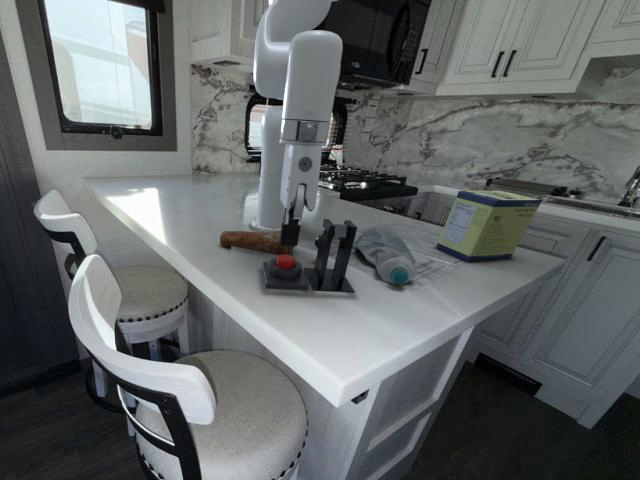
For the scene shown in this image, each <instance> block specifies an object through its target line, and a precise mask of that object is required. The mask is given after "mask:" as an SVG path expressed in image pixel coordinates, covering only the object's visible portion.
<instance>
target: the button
mask: <svg viewBox="0 0 640 480" xmlns="http://www.w3.org/2000/svg"><path fill="white" fill-rule="evenodd" d="M276 258H277V261H276V266H277V267H279V268H283V269H292V268H294V265H295V260H296V257H294V256H293V255H282V254H278V255H277V256H276Z"/></svg>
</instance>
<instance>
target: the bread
mask: <svg viewBox="0 0 640 480" xmlns="http://www.w3.org/2000/svg"><path fill="white" fill-rule="evenodd" d="M280 235H281V232H271V231H268V232H267V231H245V230H224V231H222V232H221V234H220V236H219V244H220V245H221V246H223V247H228V248H232V247H237V248H242V249H249V250H254V251H255V250H256V251H260V252H266V253H270V254H276V255H290V256H292V251H293V249H294V248H295V246H283V245H281V243H280Z"/></svg>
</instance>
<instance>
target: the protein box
mask: <svg viewBox="0 0 640 480" xmlns="http://www.w3.org/2000/svg"><path fill="white" fill-rule="evenodd" d="M542 202H543V199H541V198H537V197H532V196H527V195H522V194H518V193H515V192H511V191H510V192H509V191H505V190H458V192H457V195H456V197H455V200H454V202H453V205H452V207H451V209H450V211H449V215H448V217H447V218H446V222H445V224H444V227H443V228H442V229H443V230H442V231H441V234H440V236H439V239H438V241H437V243H436V246H435V247H436V249H439V250H440V251H443V252H445V253H447V254H450V255H452V256H454V257H456V258H458V259H460V260H463V261H464V262H467V263H469V262H483V261H485V262H486V261H495V260H496V261H497V260H499V261H500V260H509V259H511V258H512V257H513V255H514V253H515V252H516V250H517V247H518V246H519V244H520V242H521V240H522V239H523V237H524V235H525V233H526V231H527V229H528V227H529V225H530V224H531V222H532V220H533V219H534V216H535V214H536V213H537V211H538V209H539V207H540V206H541V204H542Z"/></svg>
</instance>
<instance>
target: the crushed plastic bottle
mask: <svg viewBox="0 0 640 480" xmlns="http://www.w3.org/2000/svg"><path fill="white" fill-rule="evenodd" d="M355 246H356V248H357V249H358V250H359V251H360V252H361V253H362V254H363V257H365V259H366V260H367V262H369V263H371V264H372V265H373V266H375V268H376V270H377V273H378V275H379V276H380V278H381V279H382V280H383V282H385V283H389V284H396V285H403V284H406V283H408V282H410V281H412V280H413V279H414V278H415V277H416V276H417V268H416V262H417V261H416V259H415V257H414V256H413V254H412V252H411V251H410V249H409V248H408V246H407V245H406V243H405V242H404V240H403V239H402V237H401V236H400V235H398V234H397V233H396V232H395V231H393V230H392V229H389V228H388V227H384V226H376V227H372V228H369V229H367V230H366V231H364V232H363V233H362V234H360V235H359V237H358V240H357V241H356V242H355Z"/></svg>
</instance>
